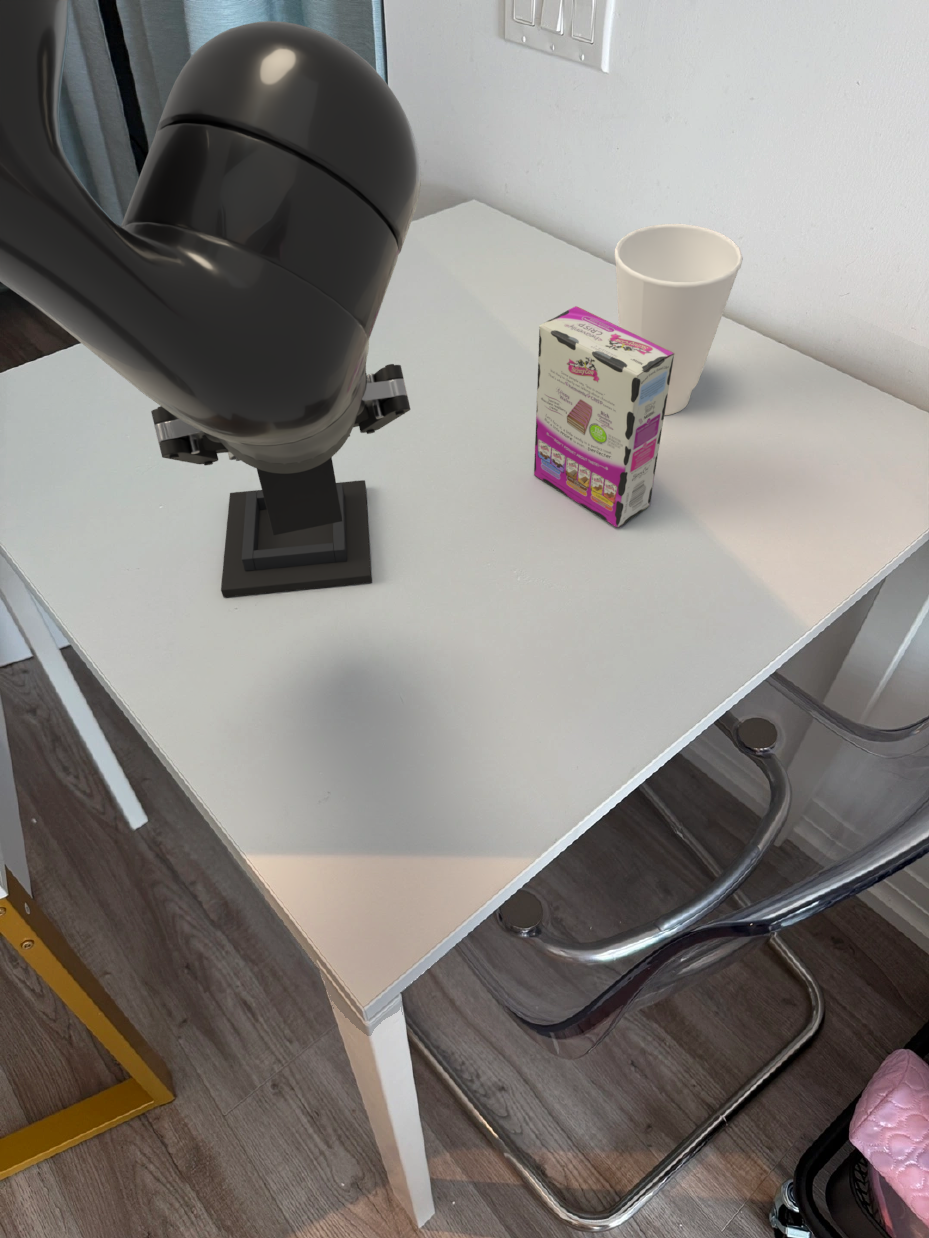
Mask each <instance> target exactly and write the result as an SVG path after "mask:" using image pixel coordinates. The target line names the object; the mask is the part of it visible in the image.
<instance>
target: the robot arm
mask: <svg viewBox="0 0 929 1238" xmlns="http://www.w3.org/2000/svg"><path fill="white" fill-rule="evenodd" d="M70 6H71V3H70V0H0V283H2V284H3V285H4V286H6V287H7V288H8V289H10V290H11V291H13V292H14V293H16V294H17V295H19V296H20V297H21V298H23V299H24V300H26V301H27V302H28V303H30V304H31V305H32V306H33V307H35V308H36V309H37V310H39V311H40V312H41V313H43V314H44V315H45V316H47V317H48V318H49V319H50V320H52V321H53V322H55V323H56V324H57V325H58V326H59V327H61V328H62V329H63V330H65V331H66V332H68V333H69V334H70V335H71V336H72V337H74V339H76V340H77V341H78V342H79V343H81V344H82V345H83V346H84V347H85V348H87V349H88V350H89V351H90V352H92V353H93V354H94V355H95V356H97V357H98V358H99V359H100V360H101V361H103V362H104V363H105V364H106V365H108V366H109V367H110V368H111V369H112V370H113V371H114V372H116V373H117V374H118V375H120V376H121V377H122V378H124V379H125V381H127V382H128V383H129V384H131V385H132V386H133V387H135V388H136V389H137V390H138V391H139V392H141V393H142V394H143V395H145V396H146V397H147V398H149V399H150V400H151V401H153V402H154V403H156V404H157V405H159V406H158V407H157V408H154V409H152V410H151V411H150V413H151V417H152V421H153V427H154V430H155V435H156V438H157V443H158V446H159V451H160V455H161V458H163V459H168V460H172V461H173V460H174V461H179V462H185V463H189V464H195V465H204V466H211V465H213V464H214V463H215V462H218V461H219V456H218V454H225V453H226V454H227V456H228V460H230V461H235V462H242V463H244V464H245V465H247V466H250V467H252V468H254V469H256V470H257V469H260V470H263V471H267V472H271V473H280V474H289V473H298V472H302V471H306V470H309V469H312V468H314V467H317V466H319V465H321V464H322V463H324V462H326V461H327V460H328V459H330V458H331V457H332V458H333V457H334V456H335V455H336V454H337V453H338V452H339V451H340V450H341V448H342V447H343V446H344V445H345V444H346V442H347V440H348V439H349V438H350V437H351V433H352V431H353V428H357V427H358V429H359V433H361V434H365V433H366V435H371V434H375V433H376V432H377V431H378V430H381V429H382V428H384V427H385V426H387V425H389V424H390V423H392V422H393V421H395V420H397V419H398V418H400V417H402V416H403V415H405V414H406V413H408V412H410V411H411V405H410V400H409V397H408V391H407V387H406V382H405V379H404V378H405V377H404V372H403V368H402V365H401V364H394V363H390V364H386V365H384V367H382V368H381V367H380V369H378V370H377V371H376V372H375V373H369V374H367V360H368V356H369V355H368V354H369V349H370V338H371V335H372V332H373V329H374V327H375V323H376V321H377V318H378V316H379V313H380V310H381V308H382V304H383V302H384V300H385V299H384V298H385V296H386V294H387V290H388V287H389V285H390V282H391V280H392V276H393V273H394V270H395V268H396V265H397V262H398V259H399V255H400V254H401V252H402V249H403V247H404V243H405V242H406V241H405V240H406V238H407V235H408V232H409V229H410V226H411V224H412V221H413V218H414V215H415V213H416V210H417V206H418V203H419V199H420V193H421V185H422V170H421V169H422V167H421V159H420V153H419V149H418V144H417V141H416V137H415V134H414V131H413V128H412V126H411V124H410V121H409V119H408V116H407V114H406V112H405V110H404V109H403V107H402V105H401V102H400V101H399V100H398V98H397V96H396V95H395V93H394V92H393V90H392V89H391V87H390V86H389V84H388V83H387V82H386V81H385V79H384V78H383V77H382V75H380V74H379V72H378V71H377V70H376V69H375V68H374V67H373V66H372V65H371V64H370V63H369V62H368V61H367V60H366V59H365V58H363V57H362V56H361V55H360V54H359V53H357V52H356V51H355V50H354V49H352V48H350V47H349V46H347V45H346V44H345V43H343V42H342V41H340V40H338V39H336V38H335V37H332V36H330V35H328V34H327V33H325V32H322V31H320V30H316V29H314V28H311V27H308V26H305V25H301V24H299V23H293V22H287V21H277V20H276V21H275V20H266V21H255V22H250V23H245V24H241V25H238V26H235V27H231V28H229V29H227V30H224V31H222V32H220V33H218V34H216V35H215V36H214V37H212V38H210V39H209V40H208V41H206V42H205V43H204V44H202V46H200V47H199V48H197V50H196V51H195V52H194V53H193V54H192V55H191V56H190V57H189V59H188V60H187V61H186V62H185V64H184V66H183V67H182V68H181V70H180V72H179V74H178V76H177V77H176V79H175V81H174V83H173V85H172V87H171V89H170V92H169V94H168V96H167V98H166V99H167V100H166V102H165V104H164V107H163V110H162V113H161V115H160V118H159V121H158V123H157V127H156V129H155V135H154V137H153V140H152V142H151V144H150V148H149V150H148V153H147V155H146V158H145V161H144V164H143V166H142V169H141V172H140V174H139V177H138V179H137V182H136V184H135V186H134V187H135V188H134V190H133V193H132V195H131V198H130V200H129V204H128V205H127V209H126V210H125V214H124V217H123V219H122V221H121V225H119V224H118V223H116V222H115V220H113V219H112V218H111V217H110V215H108V213H106V212H105V210H104V209H103V207H101V205H100V204H99V203H98V201H96V200H95V198H94V197H93V196H92V195H91V193H90V192H89V190H88V189H87V187H86V186H85V185H84V183H83V181H82V180H81V179H80V177H79V176H78V174H77V173H76V171H75V169H74V167H73V166H72V164H71V163H70V161H69V159H68V157H67V154H66V152H65V149H64V146H63V141H62V135H61V111H60V109H61V95H62V86H63V85H62V83H63V77H64V70H65V62H66V56H67V47H68V39H69V33H70V8H71V7H70Z"/></svg>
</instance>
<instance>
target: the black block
mask: <svg viewBox="0 0 929 1238" xmlns="http://www.w3.org/2000/svg"><path fill="white" fill-rule="evenodd" d="M256 472H257V476H258V479H259V484H260V487H261V490H262V492H263V496H264V500H265V504H266V508H267V512H268V516H269V520H270V524H271V528H272V532H273V535H278V534H283V533H288V532H293V531H298V530H302V529H307V528H312V527H317V526H322V525H327V524H331V523H336V522H341V521H342V515H341V509H340V503H339V497H338V492H337V486H336V483H337V480H336V475H335V469H334V463H333V456H332V457H331V458H330V459H328V460H327V461H326V462H324V463H322V464H321V465H319V466H317V467H314V468H312V469H309V470H306V471H302V472H298V473H289V474H280V473H271V472H267V471H263V470H260V469H257V468H256Z"/></svg>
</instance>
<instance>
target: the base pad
mask: <svg viewBox="0 0 929 1238" xmlns="http://www.w3.org/2000/svg"><path fill="white" fill-rule="evenodd" d="M336 486H337V492H338V497H339V503H340V509H341V515H342V521H341V522H336V523H331V524H327V525H322V526H317V527H312V528H307V529H302V530H298V531H293V532H288V533H283V534H278V535H273V532H272V528H271V524H270V520H269V516H268V512H267V508H266V504H265V500H264V496H263V492H262V489H255V490H246V491H235V492H230V493H229V498H228V509H227V510H228V511H227V519H226V533H225V542H224V552H223V564H222V573H221V585H220V592H221V595H222V597H223V598H233V597H243V596H253V595H265V594H273V593H275V594H276V593H284V592H292V591H293V592H294V591H303V590H304V591H305V590H315V589H323V588H333V587H335V588H336V587H343V586H353V585H364V584H372V582H373V581H372V580H373V579H372V565H371V564H372V562H371V549H370V548H371V547H370V545H371V544H370V530H369V512H368V497H367V495H368V494H367V483H366V479H362V480H351V481H340V482H336Z"/></svg>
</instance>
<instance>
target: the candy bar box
mask: <svg viewBox="0 0 929 1238" xmlns="http://www.w3.org/2000/svg"><path fill="white" fill-rule="evenodd" d="M538 330H539V332H538V357H537V361H538V362H537V388H536V412H535V415H536V417H535V437H534V438H535V440H534V464H533V475H534V476H535V477H536V478H537V479H539V480H541V481H542V482H544V483H545V484H547V485H549V486H550V487H551V488H553V489H555V490H556V491H559V492H560V493H561V494H563V495H565V496H566V497H568V498H569V499H571V500H572V501H574V502H576V503H578V504H579V505H581V506H582V507H583V508H585V509H587V510H589V511H590V512H592V513H593V514H595V515H596V516H598V517H600V518H602V520H604V521H606V522H608V524H610V525H612V526H614V527H615V528H620V527H621V526H623V525H624V524H626V523H627V522H628V521H630V520H631V519H633V518H634V517H636V516H637V515H639V514H640V513H643V512H644V511H645V510H646V509H648V507H650V505H651V502H652V500H651V499H652V495H653V487H654V481H655V476H656V469H657V462H658V456H659V450H660V445H661V438H662V437H661V436H662V432H663V431H662V430H663V425H664V420H665V415H664V414H665V408H666V401H667V396H668V389H669V383H670V377H671V371H672V365H673V358H674V354H675V353H673V352H671V351H669V350H667V349H665V348H662V347H660V346H658V345H656V344H654V343H652V342H650V341H648V340H646V339H644V338H642V337H640V336H638V335H636V334H633V333H631V332H629V331H627V330H625V329H623V328H621V327H619V325H617V324H616V323H612V322H610V321H609V320H606V319H604V318H602V317H601V316H598V315H596V314H594V313H591V312H589V311H588V310H586V309H584V308H581V307H580V306H577V305H575V306H573V307H572V308H569V309H568V310H565V311H563V312H562V313H560V314H558V315H557V316H554V317H552V318H551V319H549V320H547V321H545V322H543V323H541V324H539V329H538Z"/></svg>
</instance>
